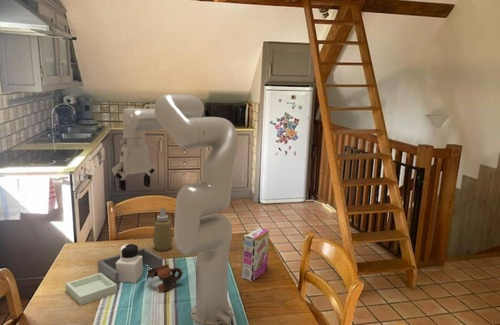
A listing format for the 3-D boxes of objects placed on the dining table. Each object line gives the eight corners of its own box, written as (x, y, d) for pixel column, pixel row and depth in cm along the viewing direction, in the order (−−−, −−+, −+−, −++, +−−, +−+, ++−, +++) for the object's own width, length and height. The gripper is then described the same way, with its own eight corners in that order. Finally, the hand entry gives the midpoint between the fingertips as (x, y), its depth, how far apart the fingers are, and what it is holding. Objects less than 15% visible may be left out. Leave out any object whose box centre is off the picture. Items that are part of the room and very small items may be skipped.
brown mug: (150, 295, 129) (144, 270, 131) (151, 294, 138) (145, 271, 140) (186, 283, 132) (179, 259, 134) (184, 283, 141) (178, 261, 143)
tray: (117, 292, 130) (117, 284, 130) (80, 305, 122) (80, 297, 122) (101, 279, 139) (100, 272, 138) (65, 291, 130) (65, 283, 130)
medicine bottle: (143, 274, 144) (142, 242, 142) (135, 283, 137) (134, 250, 135) (124, 272, 145) (123, 241, 143) (115, 281, 138) (114, 249, 136)
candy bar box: (253, 282, 140) (254, 238, 137) (241, 278, 143) (242, 235, 140) (267, 271, 150) (269, 229, 147) (256, 267, 152) (257, 227, 149)
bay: (162, 273, 145) (162, 258, 144) (115, 290, 132) (114, 273, 131) (144, 262, 154) (143, 247, 153) (98, 276, 141) (97, 260, 140)
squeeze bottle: (176, 247, 169) (176, 207, 166) (163, 254, 162) (162, 211, 159) (162, 243, 173) (162, 204, 170) (149, 249, 166) (148, 208, 163)
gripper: (116, 145, 135) (117, 194, 138) (160, 142, 147) (160, 186, 150) (106, 142, 140) (108, 189, 143) (149, 139, 152) (150, 183, 155)
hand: (135, 188), depth 146 cm, fingers open, 9 cm apart
